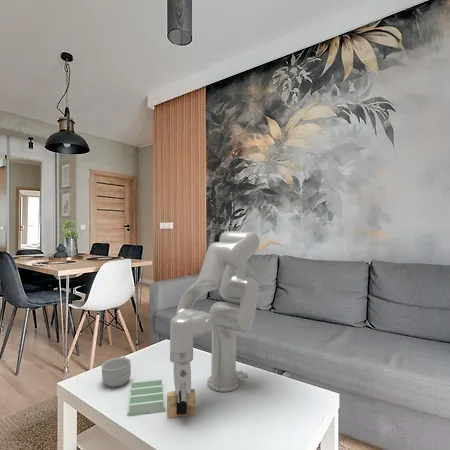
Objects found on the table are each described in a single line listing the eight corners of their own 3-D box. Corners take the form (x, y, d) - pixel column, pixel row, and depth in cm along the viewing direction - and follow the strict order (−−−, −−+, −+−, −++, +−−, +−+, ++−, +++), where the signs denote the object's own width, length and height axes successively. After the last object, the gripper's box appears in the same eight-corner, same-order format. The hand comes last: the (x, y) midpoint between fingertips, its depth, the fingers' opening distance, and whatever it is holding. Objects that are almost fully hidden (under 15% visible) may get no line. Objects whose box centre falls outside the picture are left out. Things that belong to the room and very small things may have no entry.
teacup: (121, 392, 114) (121, 370, 114) (95, 388, 116) (95, 367, 116) (139, 374, 128) (139, 354, 128) (115, 371, 130) (115, 352, 130)
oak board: (194, 409, 104) (194, 388, 104) (195, 414, 101) (195, 392, 101) (166, 413, 102) (167, 392, 102) (167, 418, 99) (167, 396, 99)
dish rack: (163, 386, 118) (163, 378, 118) (165, 410, 103) (165, 401, 103) (130, 390, 115) (130, 381, 115) (127, 415, 100) (127, 405, 100)
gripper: (196, 364, 95) (196, 424, 95) (189, 344, 110) (189, 395, 110) (171, 366, 93) (171, 428, 93) (168, 346, 109) (168, 398, 109)
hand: (181, 410), depth 102 cm, fingers closed on oak board, 2 cm apart
